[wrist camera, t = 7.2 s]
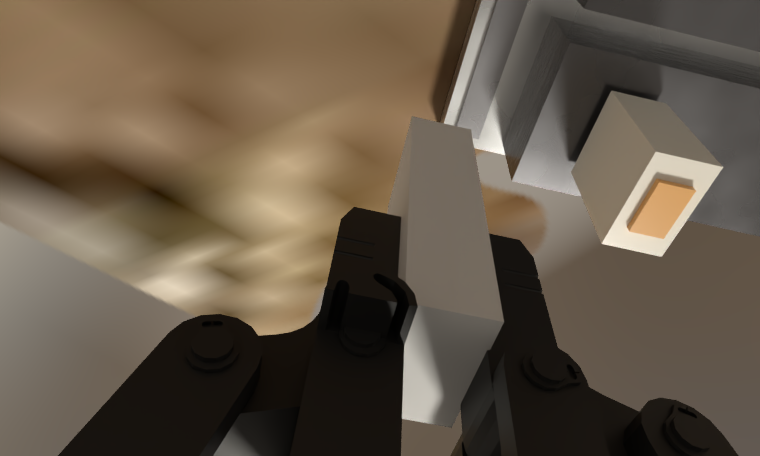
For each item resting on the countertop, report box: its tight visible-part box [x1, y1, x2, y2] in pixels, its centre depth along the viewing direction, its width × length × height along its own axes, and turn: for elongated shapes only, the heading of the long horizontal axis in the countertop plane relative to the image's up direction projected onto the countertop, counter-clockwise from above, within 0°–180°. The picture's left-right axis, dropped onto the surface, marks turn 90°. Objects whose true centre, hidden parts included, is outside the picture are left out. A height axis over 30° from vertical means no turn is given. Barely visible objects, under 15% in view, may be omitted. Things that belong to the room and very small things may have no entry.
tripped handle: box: [571, 91, 723, 257], centre depth 16 cm, size 3×2×4 cm, turn 168°
